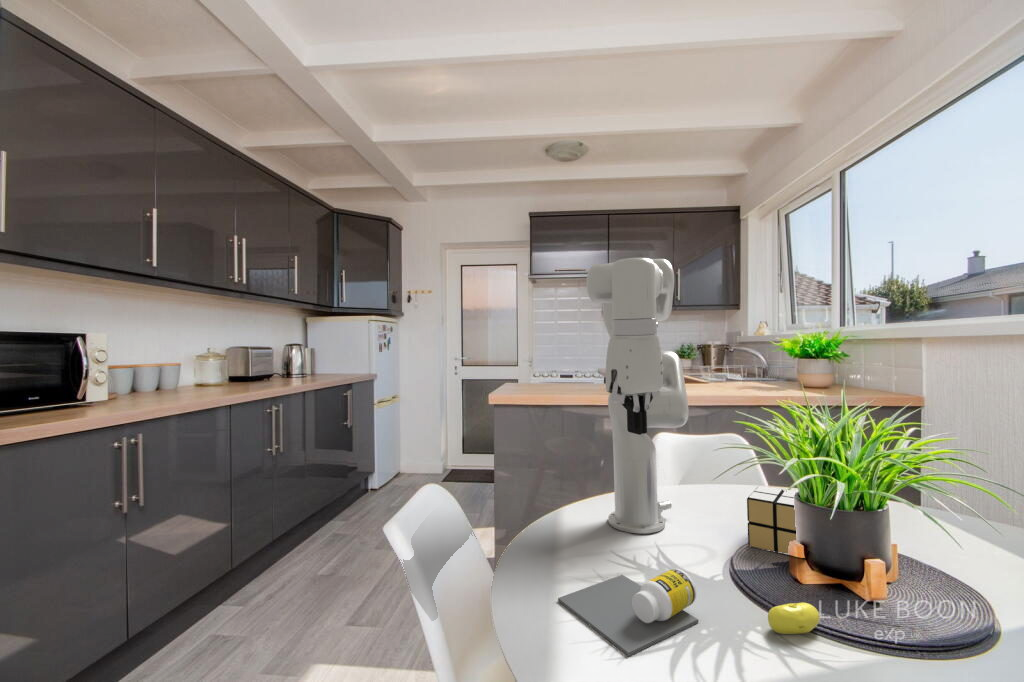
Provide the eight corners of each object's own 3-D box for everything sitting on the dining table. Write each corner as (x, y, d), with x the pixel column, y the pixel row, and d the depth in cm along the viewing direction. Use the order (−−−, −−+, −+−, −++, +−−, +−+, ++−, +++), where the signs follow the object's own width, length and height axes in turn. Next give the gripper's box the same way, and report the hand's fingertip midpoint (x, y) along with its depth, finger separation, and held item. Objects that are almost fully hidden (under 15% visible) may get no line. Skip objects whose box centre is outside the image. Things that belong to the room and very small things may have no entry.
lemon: (759, 625, 69) (759, 598, 69) (808, 619, 70) (807, 592, 70) (780, 643, 64) (779, 614, 64) (831, 636, 66) (831, 608, 66)
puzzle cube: (759, 531, 102) (757, 485, 102) (813, 542, 96) (812, 493, 96) (747, 547, 94) (746, 497, 94) (806, 560, 88) (804, 507, 88)
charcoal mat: (622, 577, 83) (622, 574, 83) (698, 622, 69) (698, 619, 69) (558, 601, 76) (558, 597, 76) (628, 656, 62) (628, 652, 62)
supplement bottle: (696, 573, 72) (657, 596, 66) (699, 609, 72) (660, 636, 66) (665, 562, 76) (626, 583, 70) (668, 596, 76) (629, 620, 70)
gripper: (648, 327, 89) (650, 422, 90) (587, 331, 82) (590, 435, 83) (680, 327, 83) (682, 430, 84) (617, 331, 75) (620, 444, 76)
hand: (637, 432), depth 83 cm, fingers closed
